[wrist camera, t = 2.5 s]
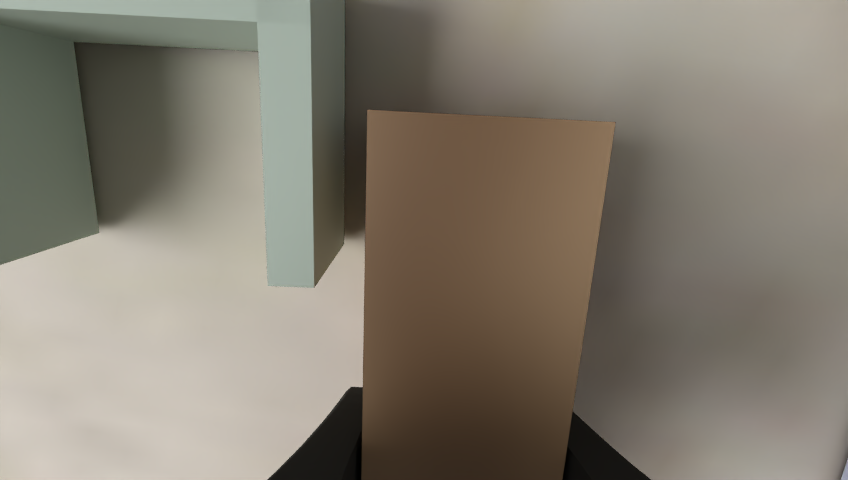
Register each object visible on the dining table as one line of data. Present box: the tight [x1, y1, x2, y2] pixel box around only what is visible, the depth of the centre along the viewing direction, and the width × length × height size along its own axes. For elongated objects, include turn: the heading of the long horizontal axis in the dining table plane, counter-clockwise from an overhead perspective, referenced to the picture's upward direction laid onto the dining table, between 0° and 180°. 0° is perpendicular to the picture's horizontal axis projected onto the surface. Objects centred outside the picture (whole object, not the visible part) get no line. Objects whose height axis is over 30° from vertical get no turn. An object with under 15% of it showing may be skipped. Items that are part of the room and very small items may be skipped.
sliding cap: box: [0, 0, 345, 288], centre depth 8 cm, size 7×5×3 cm
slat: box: [361, 110, 616, 480], centre depth 10 cm, size 4×14×4 cm, turn 177°
